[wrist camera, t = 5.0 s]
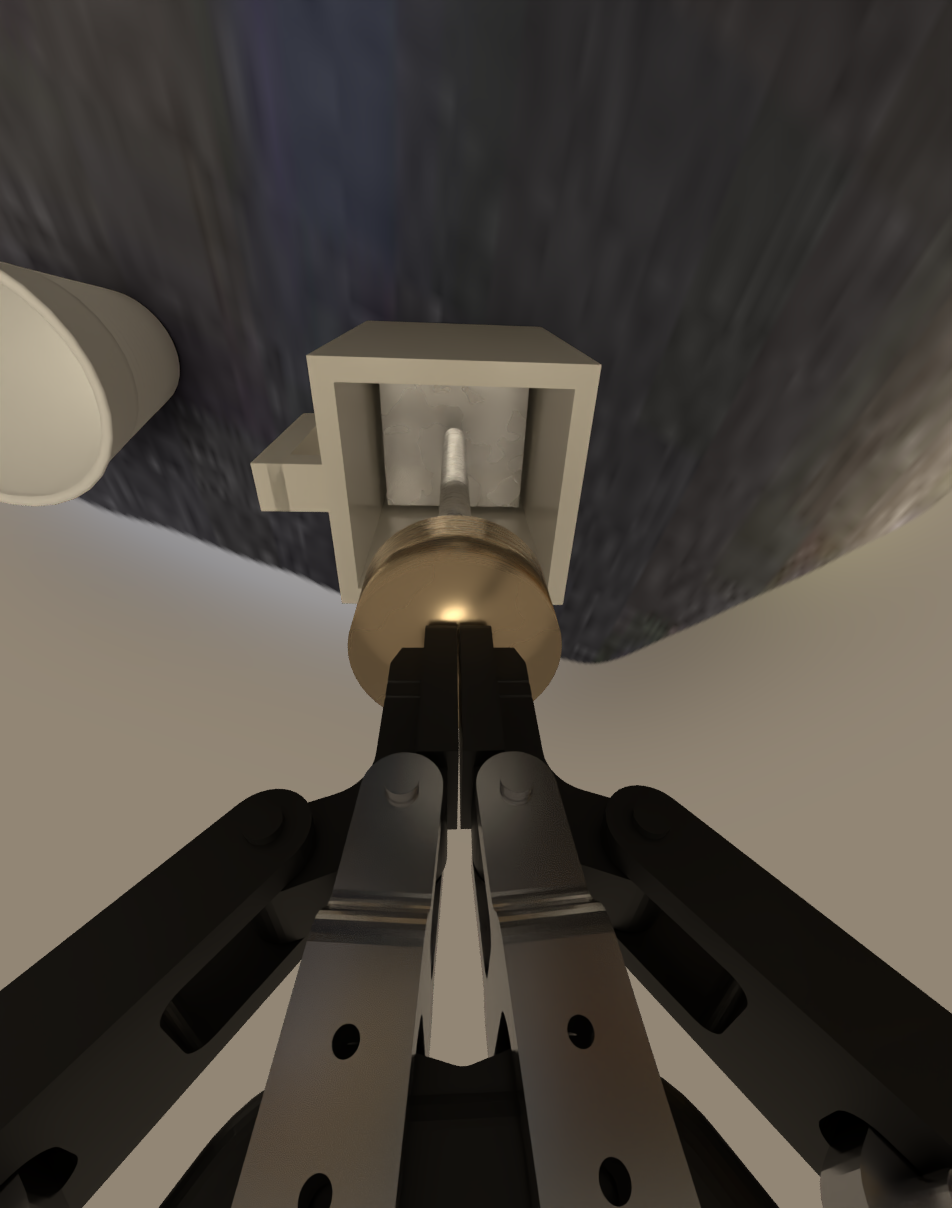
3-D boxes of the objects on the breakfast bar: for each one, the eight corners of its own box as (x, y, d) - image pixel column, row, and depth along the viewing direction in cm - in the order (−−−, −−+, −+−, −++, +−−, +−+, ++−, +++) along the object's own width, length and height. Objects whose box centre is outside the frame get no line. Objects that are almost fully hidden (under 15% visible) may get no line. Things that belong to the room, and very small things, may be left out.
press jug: (541, 326, 28) (601, 364, 17) (525, 491, 34) (562, 604, 22) (313, 318, 28) (213, 352, 16) (336, 487, 33) (273, 602, 22)
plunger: (529, 361, 25) (652, 506, 10) (517, 501, 29) (588, 759, 14) (379, 356, 25) (255, 500, 9) (389, 499, 29) (316, 761, 13)
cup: (22, 206, 25) (-233, 167, 15) (228, 299, 27) (114, 313, 18) (32, 399, 30) (-155, 455, 20) (205, 462, 32) (108, 538, 23)
